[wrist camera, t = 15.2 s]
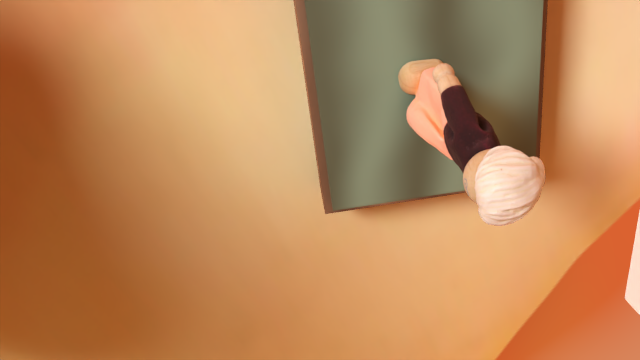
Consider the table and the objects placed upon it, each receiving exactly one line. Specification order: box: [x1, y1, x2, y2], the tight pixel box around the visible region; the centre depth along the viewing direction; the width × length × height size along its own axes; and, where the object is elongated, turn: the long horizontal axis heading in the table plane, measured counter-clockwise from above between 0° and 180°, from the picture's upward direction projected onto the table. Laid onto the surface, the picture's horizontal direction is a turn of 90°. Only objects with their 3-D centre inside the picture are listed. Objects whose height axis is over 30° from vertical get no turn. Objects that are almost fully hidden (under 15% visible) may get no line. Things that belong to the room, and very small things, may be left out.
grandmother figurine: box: [398, 59, 546, 226], centre depth 28 cm, size 8×4×13 cm, turn 38°
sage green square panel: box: [294, 0, 548, 214], centre depth 36 cm, size 14×14×4 cm
